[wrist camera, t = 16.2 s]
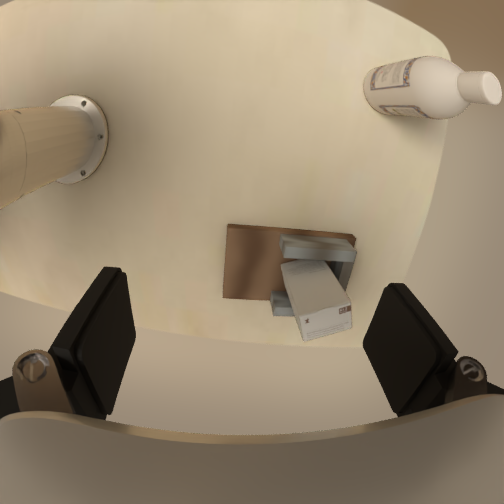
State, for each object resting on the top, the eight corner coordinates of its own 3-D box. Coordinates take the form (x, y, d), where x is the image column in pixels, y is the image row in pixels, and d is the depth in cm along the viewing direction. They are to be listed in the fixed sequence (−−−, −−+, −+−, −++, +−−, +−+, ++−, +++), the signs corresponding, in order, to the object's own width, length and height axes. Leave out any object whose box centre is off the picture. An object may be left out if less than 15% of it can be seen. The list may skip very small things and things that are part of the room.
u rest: (222, 292, 43) (222, 315, 38) (227, 223, 38) (226, 240, 33) (335, 296, 45) (345, 317, 40) (352, 234, 40) (367, 250, 35)
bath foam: (411, 105, 32) (520, 118, 14) (374, 121, 33) (482, 139, 15) (391, 62, 29) (497, 44, 11) (353, 75, 30) (455, 53, 12)
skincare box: (285, 287, 41) (301, 345, 31) (279, 261, 39) (295, 317, 29) (325, 277, 41) (353, 331, 30) (322, 250, 39) (352, 301, 28)
